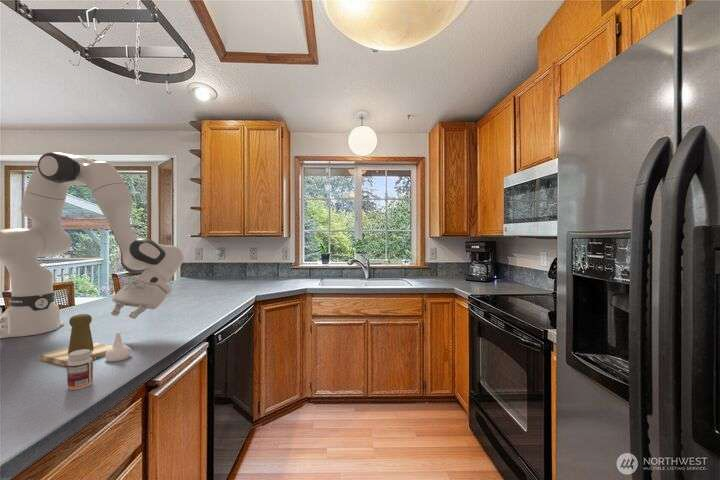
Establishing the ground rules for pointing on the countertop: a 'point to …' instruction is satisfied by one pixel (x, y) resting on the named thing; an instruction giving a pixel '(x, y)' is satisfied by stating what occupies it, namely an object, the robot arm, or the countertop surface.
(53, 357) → the birch board
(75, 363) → the pill bottle
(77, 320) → the cork
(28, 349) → the countertop surface
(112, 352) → the garlic bulb
